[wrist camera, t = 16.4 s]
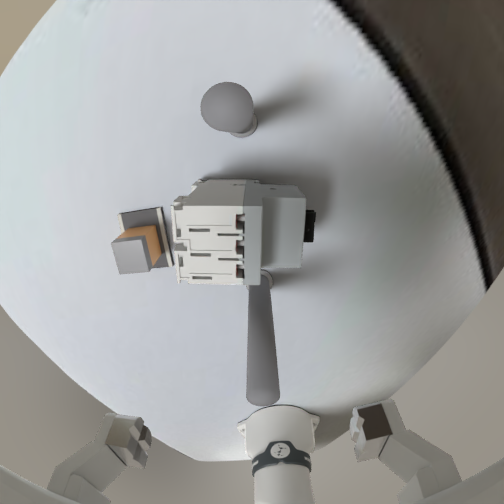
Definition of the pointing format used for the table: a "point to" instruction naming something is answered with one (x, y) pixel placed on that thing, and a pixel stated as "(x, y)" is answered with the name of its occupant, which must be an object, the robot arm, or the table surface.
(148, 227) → the orange and grey block
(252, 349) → the cord posts
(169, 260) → the mat
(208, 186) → the circuit breaker
